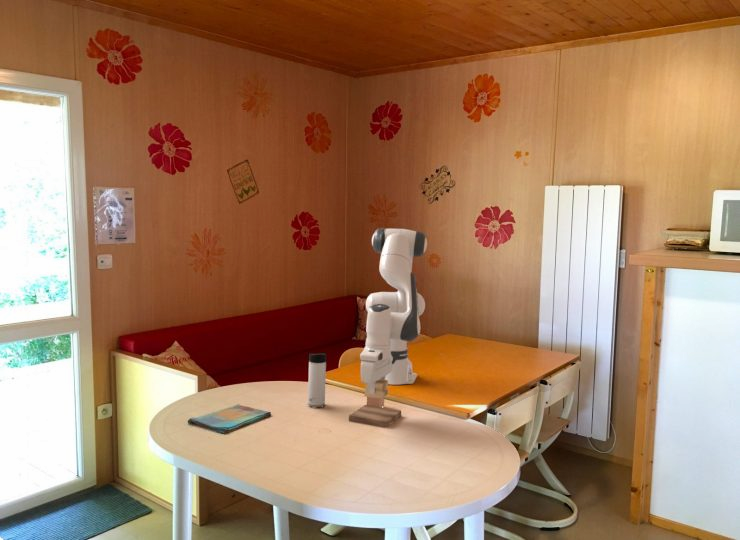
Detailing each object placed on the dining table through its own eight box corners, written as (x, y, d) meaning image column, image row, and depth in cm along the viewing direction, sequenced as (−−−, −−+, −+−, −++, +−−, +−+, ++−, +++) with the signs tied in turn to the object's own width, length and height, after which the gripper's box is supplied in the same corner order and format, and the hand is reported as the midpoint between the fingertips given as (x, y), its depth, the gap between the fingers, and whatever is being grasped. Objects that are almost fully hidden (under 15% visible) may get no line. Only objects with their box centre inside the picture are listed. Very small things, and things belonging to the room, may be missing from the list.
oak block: (371, 391, 211) (372, 378, 211) (387, 394, 209) (388, 380, 209) (365, 396, 206) (365, 381, 205) (381, 398, 203) (381, 384, 203)
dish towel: (185, 425, 196) (185, 417, 196) (236, 408, 216) (236, 401, 216) (223, 436, 187) (223, 428, 187) (272, 417, 207) (272, 410, 207)
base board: (365, 410, 217) (365, 404, 217) (401, 416, 212) (401, 410, 212) (348, 421, 204) (349, 415, 204) (386, 427, 199) (386, 421, 199)
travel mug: (309, 408, 216) (310, 354, 215) (306, 403, 223) (307, 350, 221) (326, 407, 218) (327, 354, 217) (322, 402, 224) (324, 350, 223)
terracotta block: (371, 404, 224) (372, 391, 224) (384, 406, 222) (384, 393, 222) (366, 408, 220) (366, 395, 219) (379, 410, 218) (379, 397, 217)
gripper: (380, 345, 217) (379, 382, 218) (357, 355, 198) (356, 396, 199) (396, 347, 215) (395, 385, 215) (375, 357, 196) (373, 399, 197)
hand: (376, 390), depth 207 cm, fingers closed on oak block, 6 cm apart
